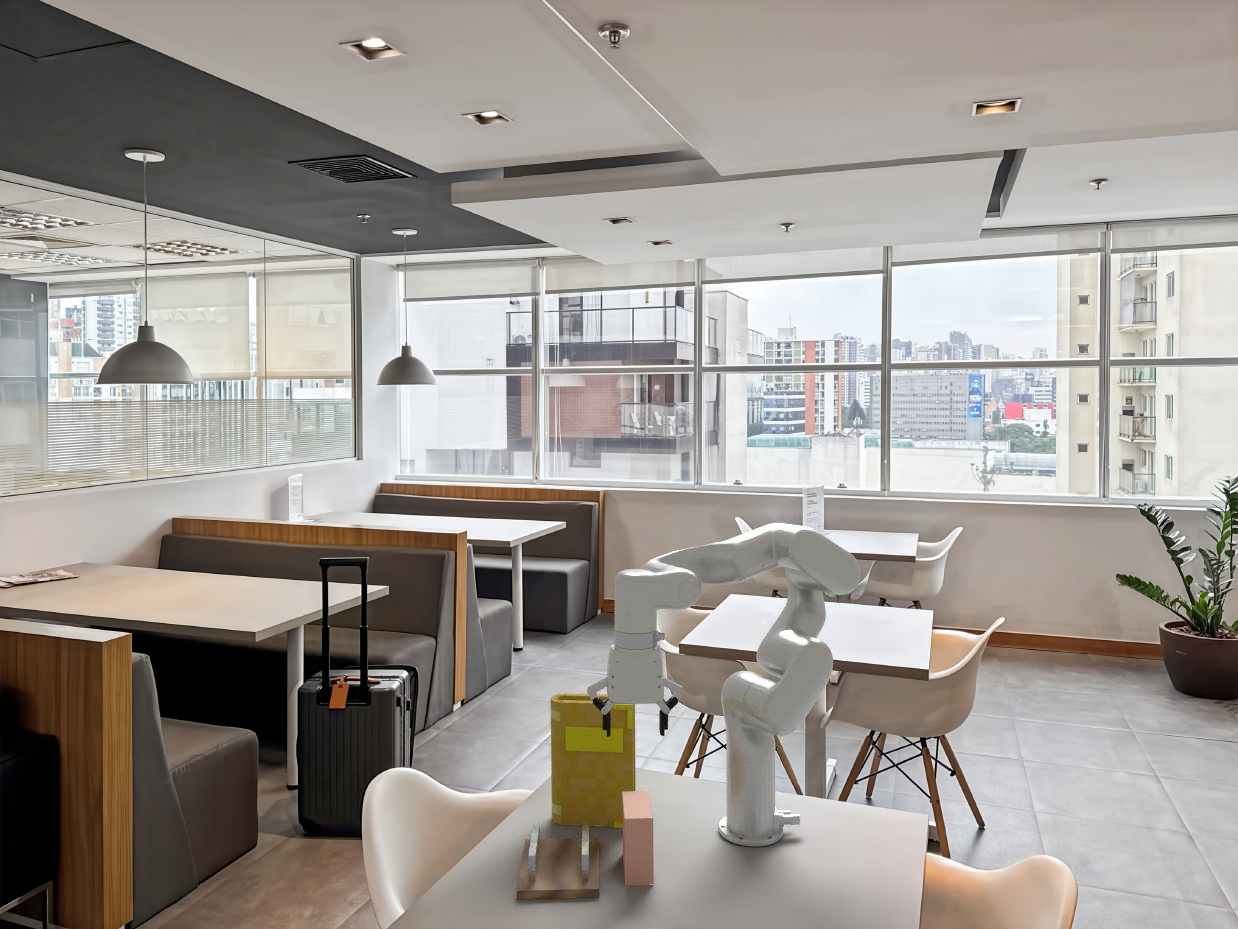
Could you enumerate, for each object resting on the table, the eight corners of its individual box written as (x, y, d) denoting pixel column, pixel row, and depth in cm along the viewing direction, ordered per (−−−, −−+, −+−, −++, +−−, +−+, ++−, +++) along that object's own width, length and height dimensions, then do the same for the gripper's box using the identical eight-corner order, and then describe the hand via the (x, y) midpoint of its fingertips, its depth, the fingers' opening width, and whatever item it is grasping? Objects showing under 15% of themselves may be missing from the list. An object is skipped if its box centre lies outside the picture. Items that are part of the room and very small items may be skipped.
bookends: (589, 845, 161) (588, 822, 161) (588, 879, 149) (588, 854, 149) (533, 846, 161) (533, 823, 160) (528, 881, 149) (528, 855, 148)
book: (636, 813, 177) (635, 694, 176) (633, 828, 171) (632, 704, 170) (555, 810, 179) (553, 692, 178) (549, 825, 172) (548, 702, 171)
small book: (649, 853, 161) (649, 791, 160) (653, 885, 150) (653, 818, 149) (622, 854, 161) (622, 791, 160) (625, 886, 150) (624, 818, 149)
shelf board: (598, 845, 164) (598, 837, 164) (599, 897, 146) (599, 888, 146) (525, 847, 164) (525, 839, 163) (516, 899, 146) (516, 890, 145)
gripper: (681, 634, 157) (681, 726, 158) (587, 634, 157) (587, 727, 157) (686, 644, 150) (685, 741, 150) (586, 644, 149) (586, 741, 150)
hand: (635, 733), depth 154 cm, fingers open, 9 cm apart
